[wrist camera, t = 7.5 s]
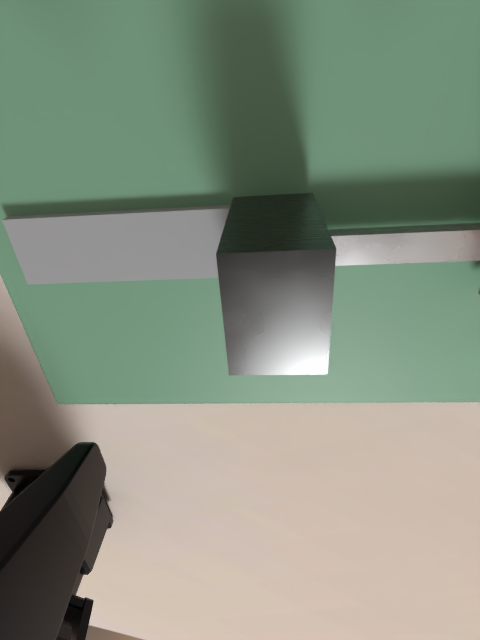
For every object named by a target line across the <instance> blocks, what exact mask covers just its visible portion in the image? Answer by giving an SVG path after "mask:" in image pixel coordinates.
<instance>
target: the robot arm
mask: <svg viewBox="0 0 480 640" xmlns="http://www.w3.org/2000/svg"><path fill="white" fill-rule="evenodd" d="M105 476H106V465H105V462H104V459H103V457H102V454H101V452H100V449H99V447H98V445H97V444H96V443H94V442H81V443H78V444H76V445H74V446H73V447H72V448H71V449H70V450H69V451H68V452H66V453H65V454H64V455H63V456H62V457H61V458H60V459H59V460H57V461H56V462H55V463H54V464H53V465H52V466H51V467H50V468H48V469H47V470H46V471H9V472H8V473H7V474H6V476H5V481H6V482H7V484H8V485H9V487H10V489H11V490H12V493H11V495H10V497H9V498H8V500H7V501H6V503H5V505H4V506H3V508H2V509H1V511H0V640H85V638H86V633H87V629H88V624H89V620H90V615H91V611H92V606H93V600H92V599H89V598H81V597H78V596H76V593H77V590H78V588H79V585H80V582H81V580H82V577H83V575H88V574H89V573H90V572H91V571H92V569H93V566H94V563H95V560H96V558H97V555H98V552H99V549H100V547H101V544H102V541H103V538H104V535H105V533H106V530H107V529H108V528H111V527H112V524H113V519H112V516H111V514H110V512H109V509H108V507H107V505H106V502H105V500H104V498H103V495H102V489H103V485H104V481H105Z"/></svg>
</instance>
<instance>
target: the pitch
mask: <svg viewBox="0 0 480 640" xmlns="http://www.w3.org/2000/svg"><path fill="white" fill-rule="evenodd" d="M299 193H313V194H314V197H315V199H316V201H317V204H318V206H319V208H320V211H321V213H322V216H323V218H324V220H325V223H326V225H327V228H328V229H347V228H369V227H391V226H413V225H436V224H458V223H480V0H0V274H1V276H2V279H3V281H4V283H5V286H6V288H7V290H8V292H9V295H10V297H11V299H12V302H13V304H14V306H15V308H16V311H17V313H18V315H19V318H20V320H21V322H22V324H23V327H24V329H25V331H26V334H27V336H28V338H29V340H30V343H31V345H32V347H33V350H34V352H35V354H36V356H37V359H38V361H39V363H40V366H41V368H42V370H43V372H44V375H45V377H46V379H47V382H48V384H49V386H50V388H51V391H52V393H53V395H54V398H55V400H56V402H57V404H204V403H396V402H480V295H479V294H478V291H479V288H480V261H455V262H428V263H400V264H373V265H346V266H335V277H334V291H333V305H332V319H331V333H330V348H329V362H328V374H316V375H231V376H229V371H228V362H227V353H226V343H225V334H224V325H223V315H222V306H221V296H220V287H219V278H218V268H217V259H216V252H217V249H218V245H219V242H220V239H221V235H222V232H223V229H224V226H225V222H226V219H227V216H228V213H229V209H230V206H231V203H232V199H233V197H243V196H262V195H281V194H299Z"/></svg>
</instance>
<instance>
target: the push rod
mask: <svg viewBox="0 0 480 640" xmlns="http://www.w3.org/2000/svg"><path fill="white" fill-rule="evenodd" d="M216 259H217V268H218V278H219V287H220V296H221V306H222V315H223V325H224V334H225V343H226V353H227V362H228V371H229V376H231V375H316V374H328V362H329V348H330V333H331V319H332V305H333V291H334V277H335V266H346V265H373V264H400V263H428V262H455V261H480V223H458V224H436V225H413V226H391V227H369V228H347V229H328V228H327V225H326V223H325V220H324V218H323V216H322V213H321V211H320V208H319V206H318V204H317V201H316V199H315V197H314V194H313V193H299V194H281V195H262V196H243V197H233V199H232V203H231V206H230V209H229V213H228V216H227V219H226V222H225V226H224V229H223V232H222V235H221V239H220V242H219V245H218V249H217V252H216ZM478 294H479V295H480V288H479V291H478Z"/></svg>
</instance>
